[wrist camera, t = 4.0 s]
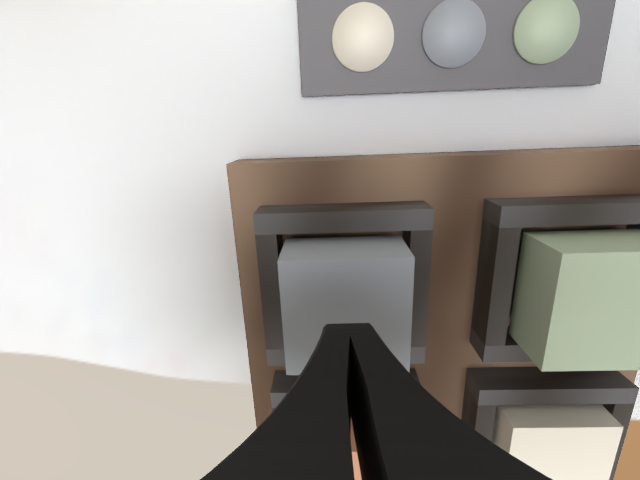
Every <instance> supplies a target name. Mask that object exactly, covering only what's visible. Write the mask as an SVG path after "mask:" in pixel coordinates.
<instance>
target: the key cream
mask: <svg viewBox="0 0 640 480" xmlns="http://www.w3.org/2000/svg"><path fill="white" fill-rule="evenodd" d="M623 428H624V427H623V426H622V425H621V424H620V423H619V422H618V421H617V420H616V419H615V418H614V417H613V416H612V415H611V414H610V413H609V412H608V411H607V409H606V408H605V407H604V406H603V405H602V404H568V405H497V406H496V414H495V421H494V428H493V435H492V443H494V444H496V445H497V446H499V447H500V448H502V449H503V450H505V451H506V452H508V453H509V454H511V455H512V456H514V457H516V458H517V459H519V460H521V461H522V462H524V463H525V464H527V465H529V466H530V467H532V468H534V469H535V470H537V471H539V472H540V473H542V474H544V475H545V476H547V477H549V478H551V479H553V480H609V478H610V474H611V471H612V467H613V464H614V460H615V457H616V453H617V449H618V446H619V442H620V439H621V435H622V432H623Z"/></svg>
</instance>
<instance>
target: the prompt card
mask: <svg viewBox="0 0 640 480" xmlns="http://www.w3.org/2000/svg"><path fill="white" fill-rule="evenodd" d="M615 1H616V0H297V7H298V27H299V48H300V68H301V88H302V97H314V96H338V95H362V94H385V93H409V92H433V91H456V90H480V89H504V88H528V87H551V86H575V85H595V84H600V82H601V76H602V71H603V66H604V60H605V55H606V50H607V44H608V39H609V33H610V28H611V23H612V17H613V12H614V7H615Z"/></svg>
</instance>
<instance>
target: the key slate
mask: <svg viewBox="0 0 640 480" xmlns="http://www.w3.org/2000/svg"><path fill="white" fill-rule="evenodd" d="M277 264H278V277H279V289H280V302H281V315H282V327H283V340H284V353H285V365H286V375H300V373H301V372H302V370H303V369H304V367H305V366H306V364H307V362H308V360H309V358H310V357H311V355H312V353H313V351H314V349H315V347H316V345H317V343H318V341H319V339H320V336H321V333H322V330H323V327H324V326H325V325H326V324H341V323H370V324H371V325H372V326H373V327H374V329H375V330H376V332H377V333H378V335H379V336H380V338H381V339H382V340H383V342H384V343H385V344H386V346H387V347H388V348H389V350H390V351H391V352H392V353H393V355H394V356H395V357H396V358H397V359H398V360H399V362H400V363H401V364H402V365H403V366H404V367H405V368H406V370H407V371H408V372H409V373H410V352H411V330H412V309H413V288H414V266H415V257H414V255H413V254H412V252H411V251H410V249H409V248H408V246H407V245H406V243H405V242H404V240H403V239H402V237H401V235H400V236H364V237H329V238H293V239H286V240H285V242H284V245H283V248H282V250H281V253H280V255H279V258H278V261H277Z"/></svg>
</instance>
